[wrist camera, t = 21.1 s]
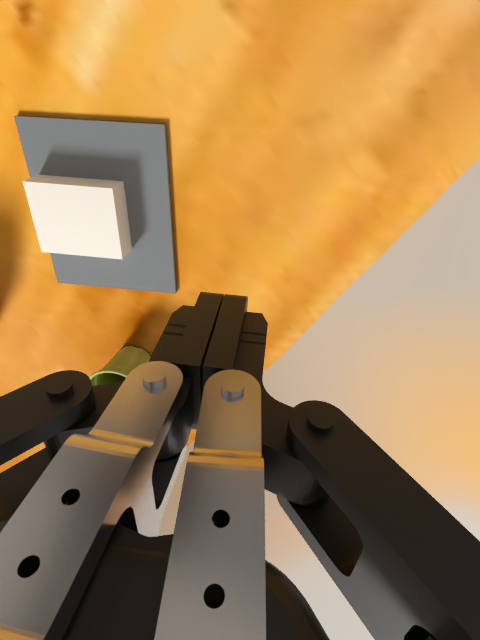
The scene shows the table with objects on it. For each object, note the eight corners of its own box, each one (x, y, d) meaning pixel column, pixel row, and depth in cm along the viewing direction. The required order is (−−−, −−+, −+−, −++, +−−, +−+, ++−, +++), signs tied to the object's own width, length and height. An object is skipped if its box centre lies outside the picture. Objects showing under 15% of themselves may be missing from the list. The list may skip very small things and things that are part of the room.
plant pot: (97, 350, 63) (72, 386, 56) (136, 327, 60) (115, 362, 52) (134, 386, 67) (115, 424, 60) (173, 367, 63) (158, 404, 56)
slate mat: (17, 115, 44) (13, 116, 44) (165, 124, 43) (164, 124, 42) (60, 280, 56) (58, 282, 56) (176, 291, 55) (175, 293, 54)
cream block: (123, 181, 46) (39, 174, 47) (112, 188, 43) (22, 181, 44) (132, 249, 51) (55, 242, 52) (122, 259, 48) (41, 251, 49)
